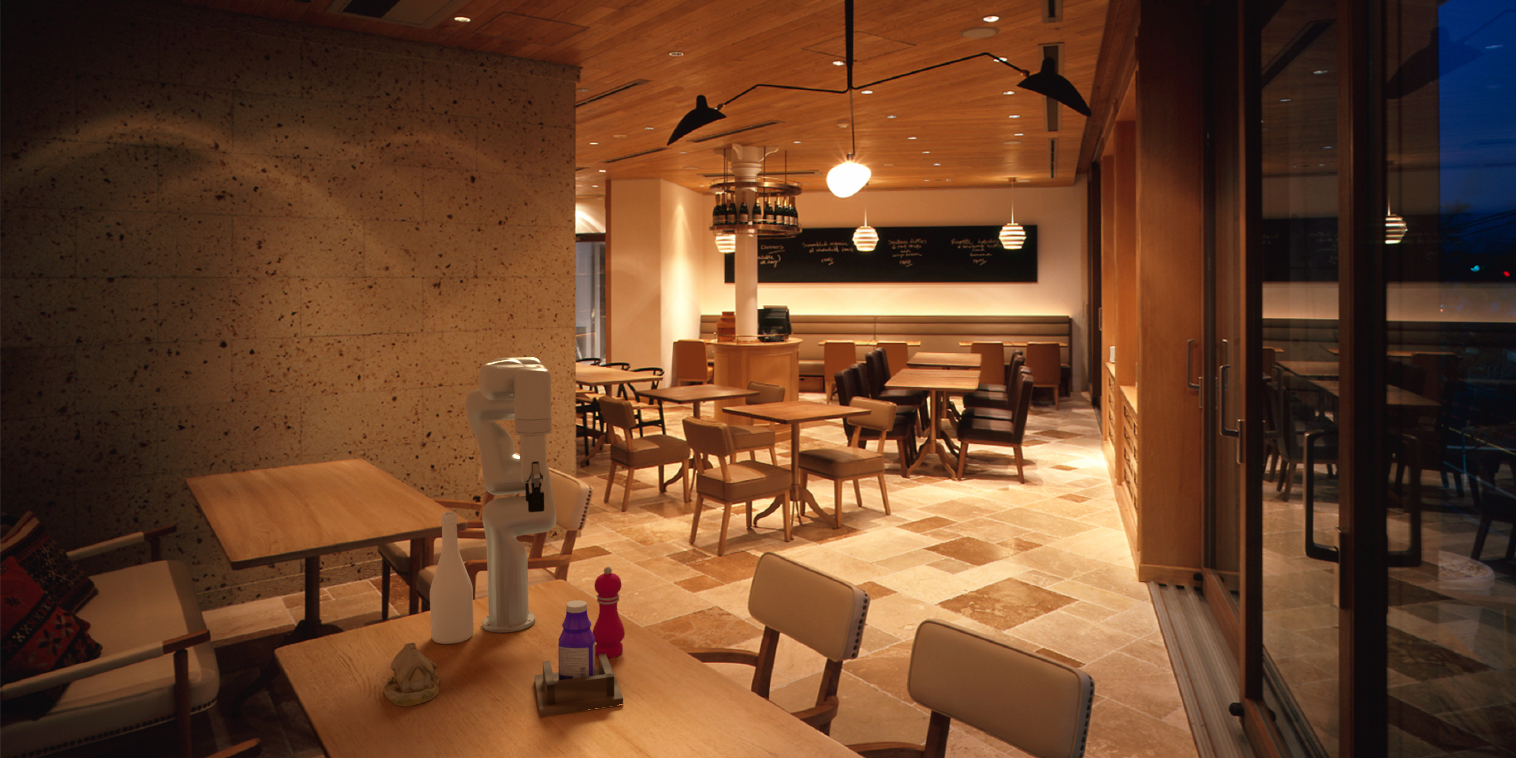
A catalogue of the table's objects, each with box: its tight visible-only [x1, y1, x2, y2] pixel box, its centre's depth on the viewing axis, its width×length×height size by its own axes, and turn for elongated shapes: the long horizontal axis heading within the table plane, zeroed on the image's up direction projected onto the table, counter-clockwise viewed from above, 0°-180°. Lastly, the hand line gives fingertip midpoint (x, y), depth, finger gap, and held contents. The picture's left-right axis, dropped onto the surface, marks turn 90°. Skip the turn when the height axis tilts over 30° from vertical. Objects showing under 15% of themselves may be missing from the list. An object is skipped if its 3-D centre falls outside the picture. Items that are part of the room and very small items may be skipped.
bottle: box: [557, 599, 596, 680], centre depth 173 cm, size 7×6×17 cm
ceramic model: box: [382, 642, 441, 707], centre depth 175 cm, size 14×11×10 cm
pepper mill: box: [592, 566, 626, 659], centre depth 194 cm, size 7×7×20 cm
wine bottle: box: [429, 511, 475, 645], centre depth 202 cm, size 10×10×30 cm
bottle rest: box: [534, 654, 624, 718], centre depth 174 cm, size 16×16×6 cm
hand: (534, 506), depth 182 cm, fingers open, 9 cm apart
